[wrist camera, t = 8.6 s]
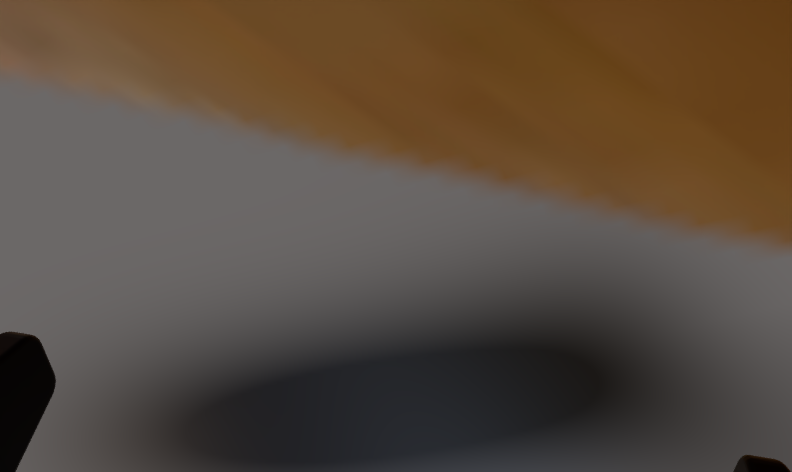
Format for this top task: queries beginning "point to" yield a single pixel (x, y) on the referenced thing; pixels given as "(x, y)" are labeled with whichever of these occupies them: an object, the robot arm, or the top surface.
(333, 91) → the top surface
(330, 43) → the top surface
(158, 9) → the top surface
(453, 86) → the top surface
